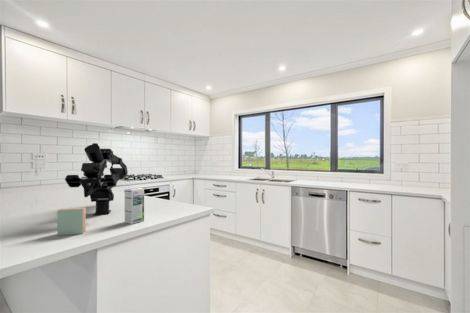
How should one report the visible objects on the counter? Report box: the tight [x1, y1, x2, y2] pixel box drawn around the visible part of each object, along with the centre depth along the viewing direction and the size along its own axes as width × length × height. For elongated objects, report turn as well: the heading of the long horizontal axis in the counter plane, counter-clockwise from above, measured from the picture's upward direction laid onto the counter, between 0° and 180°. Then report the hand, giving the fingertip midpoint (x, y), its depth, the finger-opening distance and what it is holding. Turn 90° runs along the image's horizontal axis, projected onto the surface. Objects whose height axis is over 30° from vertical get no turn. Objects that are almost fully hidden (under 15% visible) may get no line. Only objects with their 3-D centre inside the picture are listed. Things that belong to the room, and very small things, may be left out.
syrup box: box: [124, 186, 145, 225], centre depth 91 cm, size 6×6×14 cm
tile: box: [56, 207, 87, 236], centre depth 77 cm, size 2×8×9 cm, turn 103°
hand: (85, 196), depth 87 cm, fingers closed
